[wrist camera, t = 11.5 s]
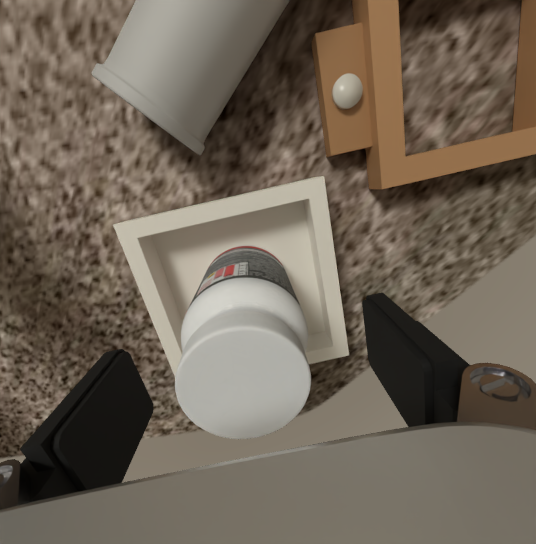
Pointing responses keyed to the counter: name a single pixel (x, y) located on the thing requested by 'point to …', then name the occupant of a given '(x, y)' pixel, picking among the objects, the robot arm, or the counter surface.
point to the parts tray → (231, 233)
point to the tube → (186, 59)
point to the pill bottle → (243, 348)
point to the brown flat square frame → (389, 99)
